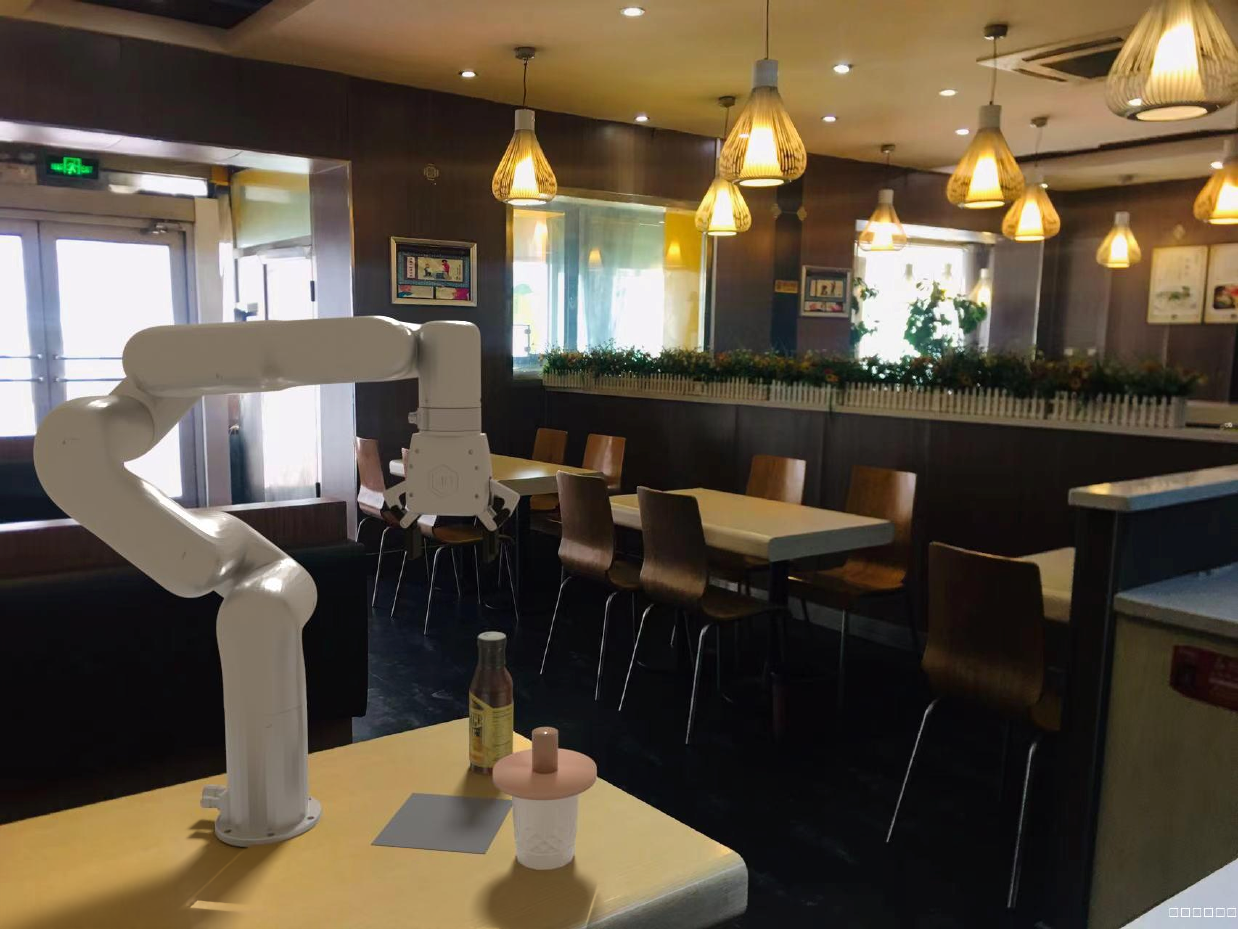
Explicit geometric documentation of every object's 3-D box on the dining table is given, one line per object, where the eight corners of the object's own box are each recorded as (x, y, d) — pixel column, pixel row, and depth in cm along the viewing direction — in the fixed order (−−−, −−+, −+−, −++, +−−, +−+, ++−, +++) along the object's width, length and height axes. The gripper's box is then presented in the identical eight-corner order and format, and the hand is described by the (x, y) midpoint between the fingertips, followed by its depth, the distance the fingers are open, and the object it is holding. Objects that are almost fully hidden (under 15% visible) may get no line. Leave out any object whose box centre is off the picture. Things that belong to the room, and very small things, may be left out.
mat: (370, 849, 112) (370, 844, 112) (412, 797, 126) (412, 792, 126) (485, 858, 110) (485, 853, 110) (514, 804, 124) (514, 800, 124)
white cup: (569, 880, 105) (569, 794, 104) (502, 872, 107) (501, 788, 106) (586, 846, 113) (586, 766, 112) (523, 839, 115) (523, 760, 114)
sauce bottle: (466, 763, 137) (465, 629, 135) (508, 758, 139) (508, 626, 137) (473, 782, 130) (472, 642, 129) (517, 777, 132) (517, 638, 130)
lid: (480, 796, 104) (479, 748, 103) (507, 753, 116) (507, 710, 115) (587, 803, 102) (587, 756, 102) (604, 759, 114) (604, 716, 114)
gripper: (371, 422, 114) (373, 562, 115) (510, 425, 111) (511, 567, 113) (394, 419, 121) (396, 551, 123) (526, 421, 119) (526, 556, 120)
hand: (451, 559), depth 118 cm, fingers open, 9 cm apart
